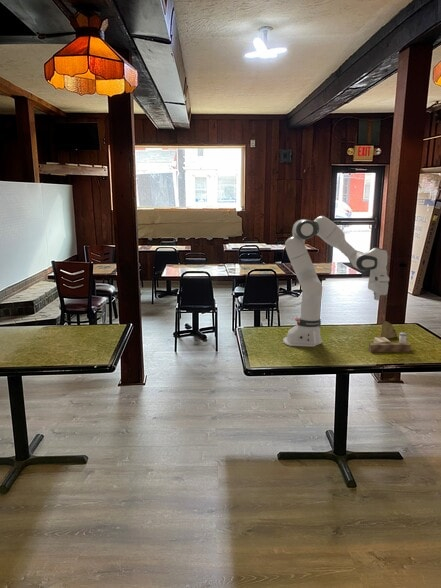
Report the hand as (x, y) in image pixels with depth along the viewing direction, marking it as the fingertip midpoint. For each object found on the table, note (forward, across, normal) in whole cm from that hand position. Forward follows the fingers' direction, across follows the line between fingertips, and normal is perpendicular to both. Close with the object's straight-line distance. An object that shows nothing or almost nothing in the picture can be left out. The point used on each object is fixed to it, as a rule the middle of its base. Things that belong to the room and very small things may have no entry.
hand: (376, 299), depth 250 cm
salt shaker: (+25, +11, +12) cm, 30 cm away
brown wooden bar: (+25, +18, +2) cm, 31 cm away
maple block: (+25, +12, 0) cm, 28 cm away
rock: (+25, -7, +12) cm, 29 cm away
